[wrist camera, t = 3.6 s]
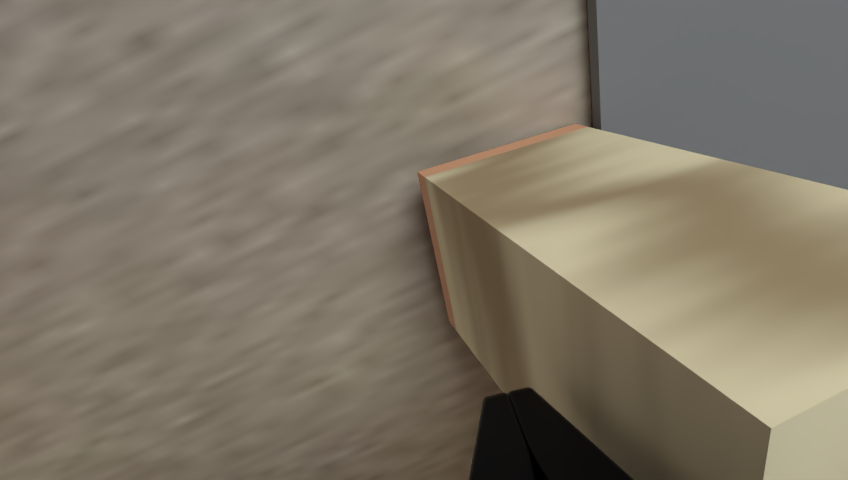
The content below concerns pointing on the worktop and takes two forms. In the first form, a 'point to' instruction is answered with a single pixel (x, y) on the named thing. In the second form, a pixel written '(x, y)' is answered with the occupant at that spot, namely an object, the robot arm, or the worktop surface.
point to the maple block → (654, 300)
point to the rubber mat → (727, 80)
